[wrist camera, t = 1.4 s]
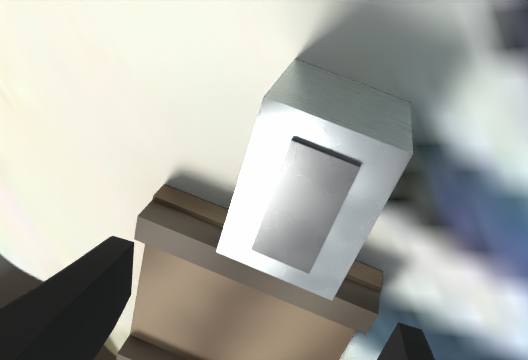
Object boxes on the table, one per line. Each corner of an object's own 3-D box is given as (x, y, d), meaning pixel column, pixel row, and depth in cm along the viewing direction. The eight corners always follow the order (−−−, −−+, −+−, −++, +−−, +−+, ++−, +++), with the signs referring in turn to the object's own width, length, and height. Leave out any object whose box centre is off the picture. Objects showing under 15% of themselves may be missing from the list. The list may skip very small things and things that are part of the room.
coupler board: (382, 271, 22) (380, 310, 20) (301, 408, 29) (293, 449, 27) (164, 184, 23) (138, 211, 21) (136, 336, 30) (114, 370, 28)
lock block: (410, 101, 18) (412, 156, 14) (345, 229, 22) (331, 304, 17) (295, 57, 18) (262, 98, 14) (251, 190, 22) (214, 255, 18)
